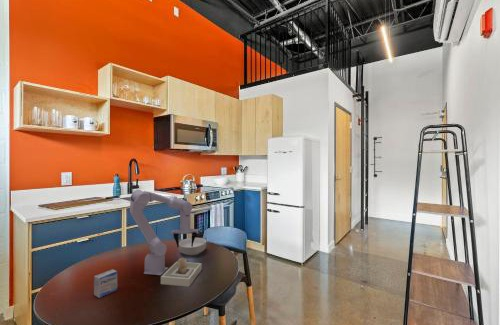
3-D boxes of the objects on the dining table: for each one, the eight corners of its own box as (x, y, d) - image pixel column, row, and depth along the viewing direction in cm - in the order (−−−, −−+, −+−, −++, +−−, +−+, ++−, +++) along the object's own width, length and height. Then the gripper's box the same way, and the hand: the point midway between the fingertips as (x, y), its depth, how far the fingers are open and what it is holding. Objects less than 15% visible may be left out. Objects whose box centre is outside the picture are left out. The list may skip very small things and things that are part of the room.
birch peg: (176, 276, 120) (176, 260, 120) (180, 273, 124) (180, 257, 124) (184, 277, 120) (184, 261, 119) (187, 273, 124) (187, 258, 123)
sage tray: (160, 284, 114) (160, 276, 114) (176, 267, 131) (176, 261, 131) (189, 286, 112) (189, 279, 112) (201, 269, 129) (201, 263, 129)
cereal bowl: (186, 247, 161) (186, 236, 161) (210, 249, 158) (210, 238, 158) (173, 257, 145) (173, 245, 145) (199, 260, 141) (199, 248, 141)
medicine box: (99, 298, 102) (99, 278, 102) (93, 295, 105) (93, 275, 105) (117, 290, 109) (117, 271, 109) (112, 287, 111) (112, 268, 111)
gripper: (170, 225, 131) (170, 249, 132) (198, 223, 134) (198, 248, 135) (172, 221, 138) (172, 245, 139) (198, 220, 141) (198, 243, 142)
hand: (185, 246), depth 137 cm, fingers open, 7 cm apart
